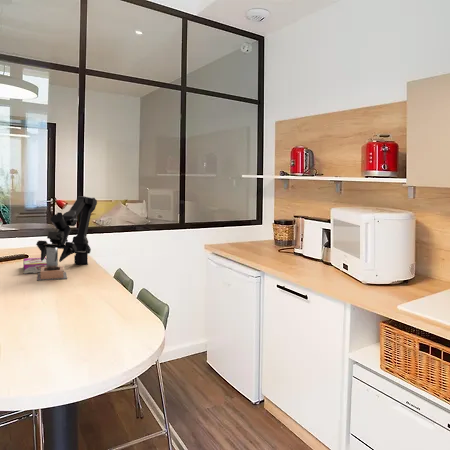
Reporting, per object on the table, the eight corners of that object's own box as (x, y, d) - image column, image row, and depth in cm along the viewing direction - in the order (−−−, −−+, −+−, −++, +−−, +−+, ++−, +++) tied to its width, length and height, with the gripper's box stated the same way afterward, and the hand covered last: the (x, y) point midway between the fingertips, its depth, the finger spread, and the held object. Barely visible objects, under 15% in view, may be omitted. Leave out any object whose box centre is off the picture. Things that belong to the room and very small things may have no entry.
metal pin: (55, 274, 197) (55, 246, 195) (59, 276, 193) (59, 247, 192) (45, 275, 194) (44, 247, 192) (48, 277, 190) (48, 248, 188)
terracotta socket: (66, 272, 202) (66, 265, 201) (66, 279, 190) (66, 271, 189) (38, 274, 197) (37, 266, 196) (36, 280, 185) (36, 272, 184)
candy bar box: (46, 256, 215) (48, 263, 201) (46, 265, 216) (48, 272, 201) (22, 257, 210) (23, 264, 195) (23, 267, 210) (23, 274, 196)
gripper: (38, 224, 195) (25, 250, 186) (74, 226, 194) (62, 252, 184) (46, 237, 204) (34, 263, 194) (81, 239, 202) (71, 265, 193)
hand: (50, 260), depth 191 cm, fingers open, 9 cm apart
